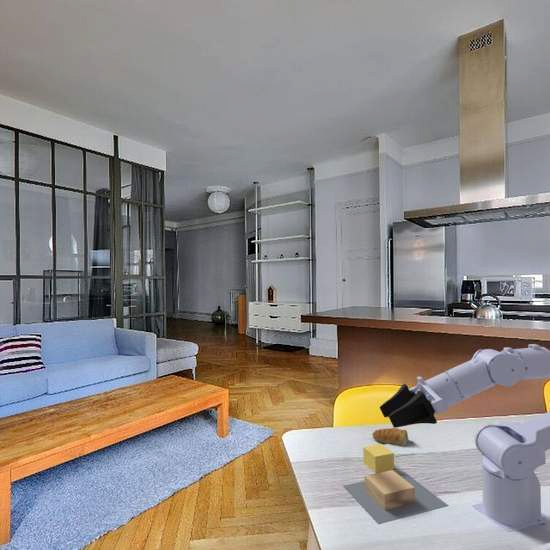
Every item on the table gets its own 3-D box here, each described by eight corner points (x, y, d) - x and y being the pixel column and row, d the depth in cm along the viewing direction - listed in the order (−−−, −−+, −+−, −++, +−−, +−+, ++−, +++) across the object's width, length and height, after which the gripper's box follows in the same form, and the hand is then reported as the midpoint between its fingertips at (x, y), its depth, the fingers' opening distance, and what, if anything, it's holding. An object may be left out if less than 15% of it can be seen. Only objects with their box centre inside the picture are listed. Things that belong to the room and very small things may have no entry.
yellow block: (381, 462, 91) (381, 443, 91) (394, 472, 86) (393, 453, 86) (363, 465, 89) (363, 447, 89) (375, 476, 84) (375, 456, 84)
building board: (405, 474, 85) (405, 472, 85) (448, 508, 72) (448, 505, 72) (342, 488, 79) (342, 485, 79) (378, 527, 67) (378, 523, 67)
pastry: (370, 443, 101) (370, 429, 101) (374, 434, 107) (374, 421, 107) (407, 450, 97) (407, 435, 97) (409, 439, 103) (408, 426, 103)
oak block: (392, 483, 80) (392, 469, 80) (414, 502, 73) (414, 487, 73) (364, 490, 78) (364, 475, 78) (384, 510, 71) (384, 494, 71)
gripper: (428, 363, 78) (369, 390, 78) (457, 371, 63) (385, 404, 63) (444, 395, 76) (385, 422, 76) (478, 410, 62) (404, 444, 62)
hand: (386, 416), depth 70 cm, fingers open, 7 cm apart
